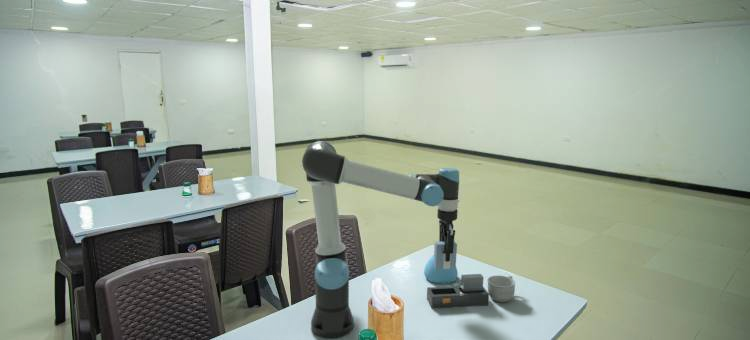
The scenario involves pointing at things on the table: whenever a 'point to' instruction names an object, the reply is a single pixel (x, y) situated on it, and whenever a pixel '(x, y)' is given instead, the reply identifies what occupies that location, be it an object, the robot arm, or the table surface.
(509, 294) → the teacup
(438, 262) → the panel
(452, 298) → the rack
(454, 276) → the sugar bowl
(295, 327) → the table surface
